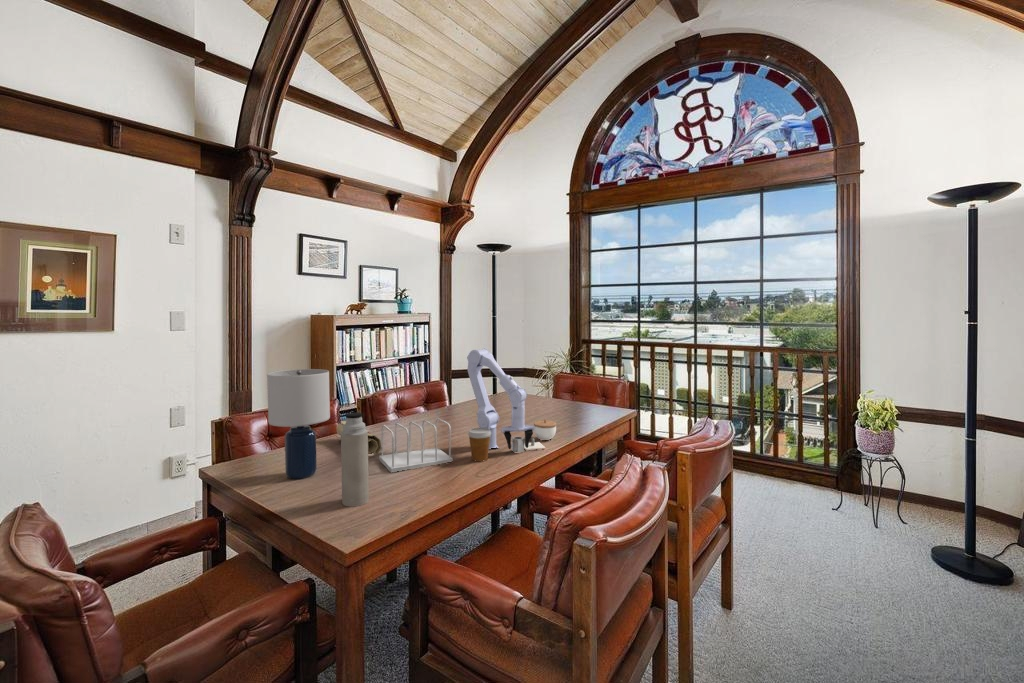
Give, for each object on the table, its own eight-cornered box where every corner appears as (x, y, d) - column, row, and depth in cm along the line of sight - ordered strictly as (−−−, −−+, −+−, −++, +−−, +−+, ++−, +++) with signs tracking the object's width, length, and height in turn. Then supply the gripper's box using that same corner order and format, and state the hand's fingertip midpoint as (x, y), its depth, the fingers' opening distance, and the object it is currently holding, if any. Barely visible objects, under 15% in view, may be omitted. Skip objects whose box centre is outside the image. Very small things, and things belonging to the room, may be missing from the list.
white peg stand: (526, 451, 195) (526, 442, 195) (520, 445, 204) (520, 436, 204) (545, 449, 198) (545, 440, 197) (539, 444, 206) (539, 435, 206)
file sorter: (390, 473, 168) (390, 432, 167) (379, 460, 183) (378, 422, 182) (453, 462, 181) (452, 424, 180) (437, 451, 196) (436, 416, 195)
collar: (513, 453, 192) (513, 440, 191) (510, 450, 197) (510, 436, 196) (525, 452, 193) (525, 439, 193) (522, 449, 198) (522, 436, 198)
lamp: (274, 469, 172) (271, 368, 170) (331, 463, 179) (329, 366, 177) (266, 488, 153) (262, 374, 151) (330, 481, 160) (328, 372, 158)
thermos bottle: (347, 496, 146) (345, 411, 145) (371, 496, 146) (370, 410, 145) (338, 506, 138) (336, 416, 137) (364, 506, 139) (363, 416, 137)
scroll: (358, 433, 218) (349, 415, 215) (387, 449, 192) (378, 429, 189) (337, 445, 212) (329, 427, 209) (364, 463, 186) (355, 443, 183)
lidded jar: (531, 441, 211) (531, 421, 211) (536, 435, 222) (536, 416, 221) (553, 443, 208) (553, 423, 208) (558, 437, 218) (558, 418, 218)
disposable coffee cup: (464, 457, 186) (464, 429, 186) (485, 454, 191) (485, 426, 190) (473, 464, 178) (473, 434, 177) (495, 460, 182) (495, 431, 182)
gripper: (504, 419, 188) (504, 451, 189) (537, 417, 192) (536, 449, 193) (500, 416, 195) (500, 447, 196) (531, 414, 199) (531, 444, 199)
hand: (518, 447), depth 195 cm, fingers open, 7 cm apart
